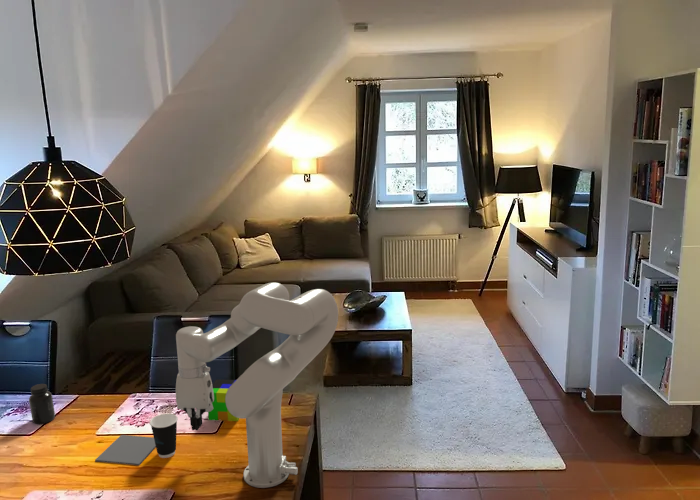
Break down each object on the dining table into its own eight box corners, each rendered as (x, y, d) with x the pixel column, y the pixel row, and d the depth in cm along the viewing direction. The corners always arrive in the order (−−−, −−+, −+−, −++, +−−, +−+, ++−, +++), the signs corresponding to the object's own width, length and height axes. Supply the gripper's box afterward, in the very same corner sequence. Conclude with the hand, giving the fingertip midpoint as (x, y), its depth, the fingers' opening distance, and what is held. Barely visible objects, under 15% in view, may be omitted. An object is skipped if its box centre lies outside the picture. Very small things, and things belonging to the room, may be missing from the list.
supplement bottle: (48, 412, 200) (44, 380, 197) (59, 418, 196) (54, 385, 193) (28, 421, 195) (23, 388, 192) (38, 427, 191) (33, 393, 188)
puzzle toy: (246, 406, 202) (244, 380, 200) (237, 421, 192) (236, 393, 190) (218, 405, 203) (216, 379, 201) (208, 420, 193) (206, 392, 191)
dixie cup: (182, 445, 178) (179, 412, 176) (177, 459, 171) (174, 425, 168) (156, 447, 178) (153, 414, 175) (150, 461, 170) (146, 427, 168)
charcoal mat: (162, 439, 182) (162, 438, 182) (139, 465, 168) (139, 463, 168) (121, 436, 184) (121, 434, 184) (95, 461, 171) (95, 459, 171)
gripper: (222, 366, 169) (225, 423, 173) (174, 362, 171) (178, 419, 175) (211, 377, 161) (215, 436, 166) (161, 373, 164) (167, 432, 168)
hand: (196, 427), depth 170 cm, fingers closed
